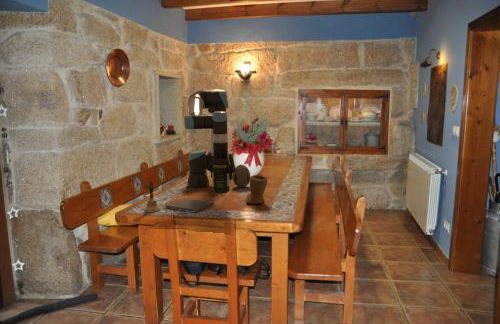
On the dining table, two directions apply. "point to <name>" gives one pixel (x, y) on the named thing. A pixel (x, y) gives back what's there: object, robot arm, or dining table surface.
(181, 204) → the plate
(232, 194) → the dining table surface
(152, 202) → the hand bell
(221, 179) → the coffee jar
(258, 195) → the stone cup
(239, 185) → the decorative egg
